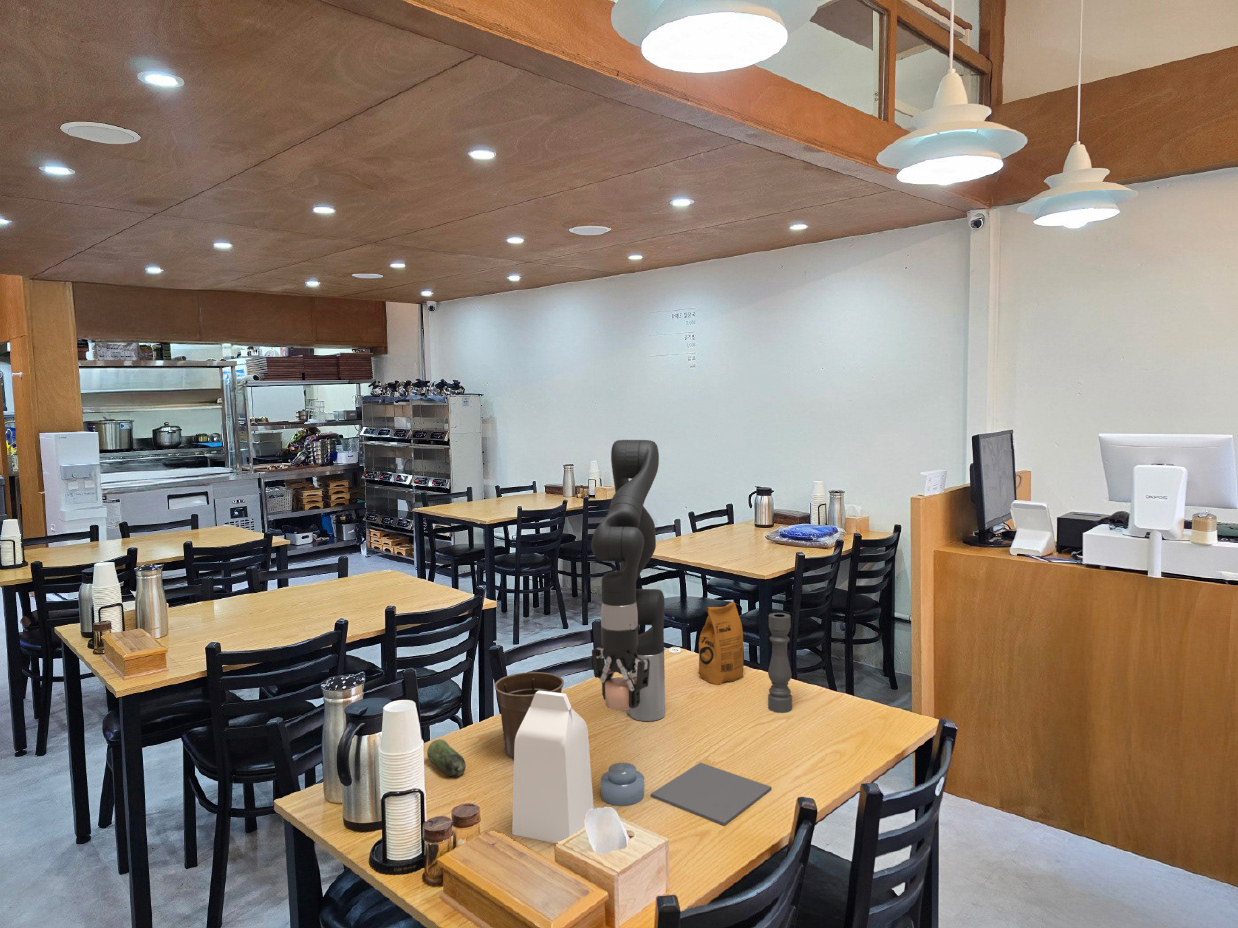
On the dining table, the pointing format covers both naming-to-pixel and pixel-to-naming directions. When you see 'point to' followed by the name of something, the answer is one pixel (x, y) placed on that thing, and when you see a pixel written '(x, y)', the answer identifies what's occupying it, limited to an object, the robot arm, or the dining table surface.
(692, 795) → the mat
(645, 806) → the dining table surface
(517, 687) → the plant pot
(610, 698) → the lid
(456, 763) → the vegetable
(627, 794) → the sugar pot
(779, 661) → the candle holder
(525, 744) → the milk
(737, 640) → the coffee package
